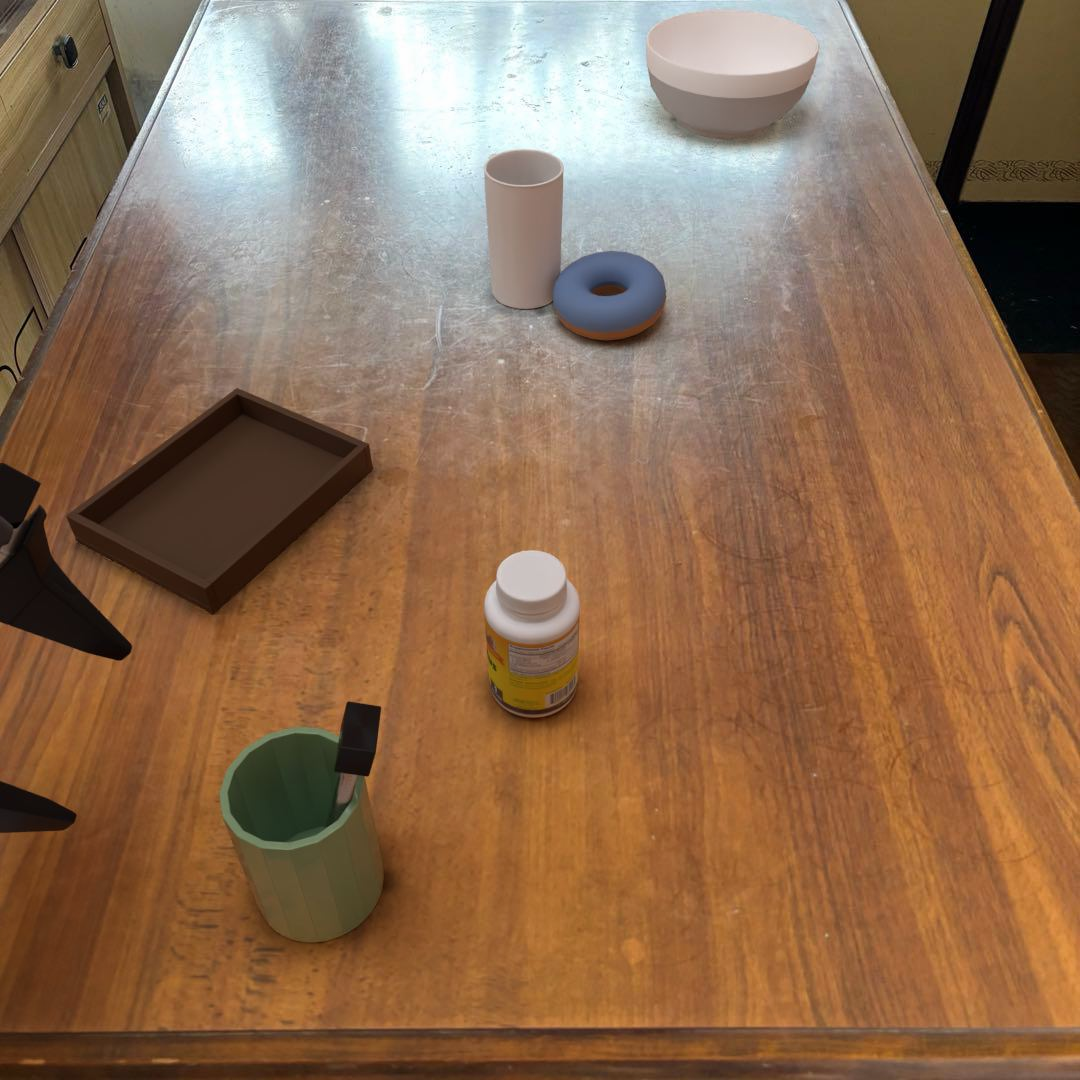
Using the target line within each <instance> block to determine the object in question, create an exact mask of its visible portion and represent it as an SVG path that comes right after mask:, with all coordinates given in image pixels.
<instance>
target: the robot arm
mask: <svg viewBox="0 0 1080 1080" xmlns="http://www.w3.org/2000/svg"><path fill="white" fill-rule="evenodd" d="M41 485H42V483H41V481H39V480H36V479H35V478H33V477H31V476H29V475H27V474H26V473H24V472H23V471H21V470H18V469H17V468H16V467H15V468H14V467H13V466H11V465H9V464H8V463H5V462H0V623H1V624H4V625H7V626H9V627H13V628H15V629H18V630H21V631H24V632H27V633H30V634H32V635H34V636H39V637H41V638H44V639H46V640H49V641H52V642H55V643H58V644H60V645H63V646H67V647H69V648H72V649H75V650H77V651H80V652H83V653H86V654H89V655H92V656H98V657H101V658H105V659H109V660H114V661H117V662H120V661H121V662H122V661H123V660H125V659H126V658H127V657H129V656H130V654H131V653H132V650H133V645H132V643H131V642H130V641H129V639H127V638H126V637H125V636H124V634H122V633H121V631H119V629H118V628H117V627H115V625H114V624H113V623H112V622H111V621H110V620H109V619H108V618H107V617H106V616H105V615H104V613H102V612H101V611H100V610H99V608H97V607H96V606H95V604H93V602H91V601H90V600H89V598H87V596H85V594H83V592H82V591H81V590H80V589H79V588H78V587H77V586H76V585H75V584H74V583H73V581H72V580H71V579H70V577H68V575H67V574H66V573H65V572H64V570H63V569H62V567H60V565H59V564H58V563H57V561H55V559H54V557H53V556H52V553H51V549H50V546H49V542H48V537H47V533H46V530H45V521H46V520H47V516H48V514H47V512H46V510H45V508H44V507H43V506H42V505H41V504H39V505H38V506H36V507H35V509H34V510H33V511H32V512H30V514H29V515H28V517H27V518H26V516H27V514H28V513H29V510H30V509H31V506H32V504H33V502H34V501H35V498H36V496H37V493H38V491H39V489H40V487H41ZM77 817H78V815H77V813H76V812H75V811H73V810H72V809H69V808H68V807H66V806H64V805H61V804H60V803H58V802H57V801H54V800H52V799H50V798H48V797H45V796H43V795H40V794H37V793H35V792H32V791H29V790H26V789H24V788H21V787H18V786H15V785H13V784H10V783H7V782H5V781H2V780H0V834H13V833H14V834H16V833H18V834H19V833H40V832H41V833H42V832H45V833H46V832H63V831H65V830H68V829H69V828H70V827H72V826H73V825H74V824H75V823H76V821H77V820H76V819H77Z"/></svg>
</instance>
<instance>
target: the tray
mask: <svg viewBox="0 0 1080 1080" xmlns="http://www.w3.org/2000/svg"><path fill="white" fill-rule="evenodd" d="M371 453H372V452H371V447H370V443H368V442H366V441H363V440H360V439H359V438H356V437H354V436H352V435H349V434H347V433H344V432H342V431H340V430H337V429H335V428H332V427H330V426H328V425H327V424H324V423H323V424H322V423H321V422H319V421H316V420H314V419H311V418H309V417H306V416H304V415H302V414H300V413H297V412H295V411H292V410H290V409H288V408H286V407H284V406H281V405H278V404H276V403H273V402H271V401H269V400H267V399H264V398H262V397H260V396H257V395H255V394H253V393H250V392H248V391H246V390H243V389H241V388H238V387H236V388H235V389H234V390H232V391H231V392H228V394H226V395H225V396H224V397H222V399H220V400H219V401H217V402H216V403H214V405H212V406H210V407H209V408H208V409H207V410H205V411H204V412H203V413H201V414H200V415H199V416H197V417H196V418H195V419H193V420H192V421H190V422H189V423H188V424H186V425H185V426H184V427H182V428H181V429H180V430H178V431H177V432H176V433H174V435H173V434H172V436H170V437H169V438H168V439H167V440H165V441H164V442H162V443H161V444H159V446H157V447H156V448H155V449H153V450H151V451H150V452H149V453H148V454H146V455H145V456H143V457H142V458H141V459H140V460H138V461H137V462H136V463H134V464H132V466H130V467H129V468H128V469H126V470H125V471H123V472H122V473H120V475H118V476H117V477H116V478H114V479H112V480H111V481H110V482H109V483H107V484H106V485H105V486H103V487H102V488H101V489H100V490H98V491H97V492H95V493H94V494H92V496H90V497H88V499H86V500H85V501H83V502H82V503H81V504H80V505H78V506H77V507H75V508H74V509H73V510H71V511H70V512H68V513H67V514H65V517H66V520H67V522H68V524H69V527H70V529H71V531H72V534H73V536H74V538H75V541H76V542H77V543H80V544H81V545H83V546H85V547H87V548H89V549H91V550H93V551H94V552H96V553H98V554H101V555H102V556H104V557H105V558H108V559H109V560H111V561H112V562H113V561H114V562H115V563H117V564H119V565H121V566H123V567H125V568H127V569H128V570H130V571H132V572H133V573H136V574H138V575H140V576H142V577H143V578H145V579H147V580H149V581H151V582H153V583H154V584H156V585H158V586H160V587H162V588H163V589H165V590H168V591H170V592H172V593H174V594H175V595H177V596H178V597H181V598H183V599H185V600H186V601H188V602H190V603H192V604H194V605H196V606H197V607H200V608H201V609H203V610H206V611H207V612H209V613H211V614H212V615H214V614H215V613H216V612H217V611H218V610H220V609H221V608H222V607H223V606H224V605H225V604H226V603H227V602H228V601H230V599H232V598H233V597H234V596H235V595H236V594H237V593H238V592H239V591H240V590H241V589H242V588H244V587H245V586H246V585H247V584H248V583H249V582H250V581H252V579H254V578H255V577H256V576H257V575H258V574H259V573H260V572H261V571H262V570H264V569H265V568H266V567H267V566H268V565H269V564H270V563H271V562H273V560H274V559H276V557H278V556H279V555H280V554H282V552H283V551H285V550H286V548H287V547H289V546H290V545H291V544H292V543H293V542H294V541H296V539H298V538H299V537H300V536H301V535H302V534H303V533H304V532H305V531H306V530H307V529H309V528H310V527H311V526H313V524H314V523H315V522H316V521H317V520H318V519H319V518H321V517H322V516H323V515H324V514H325V513H326V512H327V511H328V510H329V509H331V508H332V507H333V506H334V505H335V504H337V502H338V501H339V500H341V499H342V498H343V497H344V496H345V495H346V494H347V493H348V492H349V491H351V490H352V489H353V488H354V487H355V486H356V485H357V484H358V483H359V482H360V481H361V480H363V479H364V478H365V477H366V476H367V475H368V474H369V473H370V472H372V471H373V469H374V467H373V461H372V454H371Z"/></svg>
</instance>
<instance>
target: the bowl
mask: <svg viewBox="0 0 1080 1080" xmlns="http://www.w3.org/2000/svg"><path fill="white" fill-rule="evenodd" d="M819 52H820V43H819V40H818V39H817V36H815V35H814V34H813V32H812V31H811V30H809V29H807V28H806V27H805V26H803V25H802V24H799V23H797V22H795V21H792V20H790V19H787V18H784V17H780V16H778V15H774V14H769V13H764V12H759V11H751V10H744V9H743V10H742V9H705V10H704V9H703V10H695V11H690V12H684V13H680V14H677V15H673V16H670V17H667V18H665V19H662V20H661V21H659V22H657V23H655V24H654V25H653V26H652V27H651V28H650V29H649V31H648V32H647V35H646V36H645V62H646V68H647V73H648V79H649V84H650V88H651V90H652V92H653V93H654V94H655V96H656V97H657V99H658V102H659V103H660V104H661V106H662V107H663V109H664V111H666V112H667V113H668V114H669V115H671V116H672V117H674V118H675V119H676V121H677V123H678V124H679V125H680V126H681V127H682V128H683V129H686V130H687V131H689V132H691V133H694V134H696V135H699V136H703V137H707V138H713V139H724V140H725V139H726V140H728V139H729V140H733V139H743V138H748V137H752V136H756V135H758V134H760V133H763V132H765V130H767V129H768V128H769V126H770V125H772V124H774V123H775V122H777V121H780V120H781V119H783V118H784V117H786V116H787V115H788V114H789V113H790V111H791V110H792V109H793V108H794V107H795V106H796V105H797V104H798V102H799V101H800V100H801V99H803V96H804V94H805V93H806V90H807V88H808V85H809V83H810V82H811V79H812V76H813V75H814V73H815V68H816V64H817V61H818V55H819Z"/></svg>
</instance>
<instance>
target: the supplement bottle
mask: <svg viewBox="0 0 1080 1080" xmlns="http://www.w3.org/2000/svg"><path fill="white" fill-rule="evenodd" d="M495 578H496V579H495V581H494V582H493V583H492V584H491V585H490V586H489V588H488V590H487V592H486V594H485V597H484V602H483V603H484V604H483V611H484V623H485V624H484V625H485V627H484V629H485V640H486V654H487V655H486V656H487V671H488V682H489V688H490V692H491V693H492V696H493V698H494V699H495V701H496V702H497V703H498V704H499V705H500V706H501V707H502V708H503V709H504V710H506V711H508V712H509V713H511V714H513V715H516V716H519V717H524V718H533V719H535V718H542V717H543V718H544V717H547V716H551V715H553V714H555V713H558V712H559V711H561V710H562V709H564V708H565V707H567V705H568V704H569V703H570V702H571V701H572V699H573V698H574V696H575V694H576V691H577V688H578V683H579V662H580V661H579V660H580V658H579V657H580V621H581V617H580V616H581V602H580V601H581V600H580V597H579V596H580V595H579V593H578V591H577V589H576V587H575V585H574V584H573V583H572V582H571V581H570V580H569V579H568V578H567V571H566V568H565V566H564V564H563V563H562V562H561V560H560V559H558V558H557V557H555V556H554V555H553V554H551V553H549V552H545V551H541V550H535V549H534V550H533V549H531V550H529V549H528V550H522V551H518V552H515V553H513V554H510V555H509V556H507V557H506V558H505V559H504V560H503V561H502V562H501V563H500V564H499V566H498V568H497V571H496V576H495Z"/></svg>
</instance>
